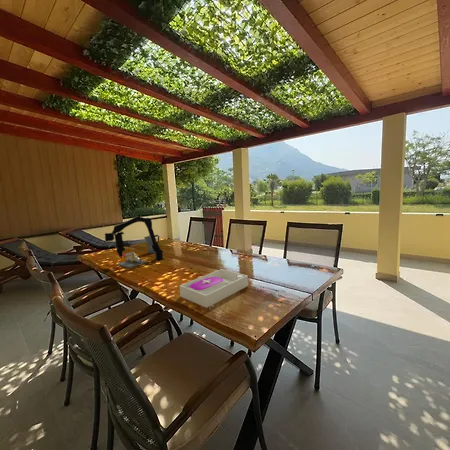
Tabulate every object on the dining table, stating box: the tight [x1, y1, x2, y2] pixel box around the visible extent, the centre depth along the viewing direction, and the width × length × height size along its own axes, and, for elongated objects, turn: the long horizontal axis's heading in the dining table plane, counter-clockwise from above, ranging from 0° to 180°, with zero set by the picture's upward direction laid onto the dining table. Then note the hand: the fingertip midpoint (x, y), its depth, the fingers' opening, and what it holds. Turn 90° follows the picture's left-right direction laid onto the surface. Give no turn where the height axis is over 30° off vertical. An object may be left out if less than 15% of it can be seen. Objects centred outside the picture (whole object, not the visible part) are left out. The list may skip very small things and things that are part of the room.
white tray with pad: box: [179, 268, 249, 309], centre depth 143 cm, size 22×35×7 cm, turn 137°
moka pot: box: [143, 234, 160, 255], centre depth 246 cm, size 10×15×20 cm, turn 115°
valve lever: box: [117, 251, 135, 258], centre depth 208 cm, size 13×2×2 cm, turn 116°
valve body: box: [125, 255, 142, 263], centre depth 211 cm, size 18×5×6 cm, turn 53°
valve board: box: [117, 259, 147, 269], centre depth 210 cm, size 18×16×2 cm
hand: (121, 257), depth 204 cm, fingers closed
